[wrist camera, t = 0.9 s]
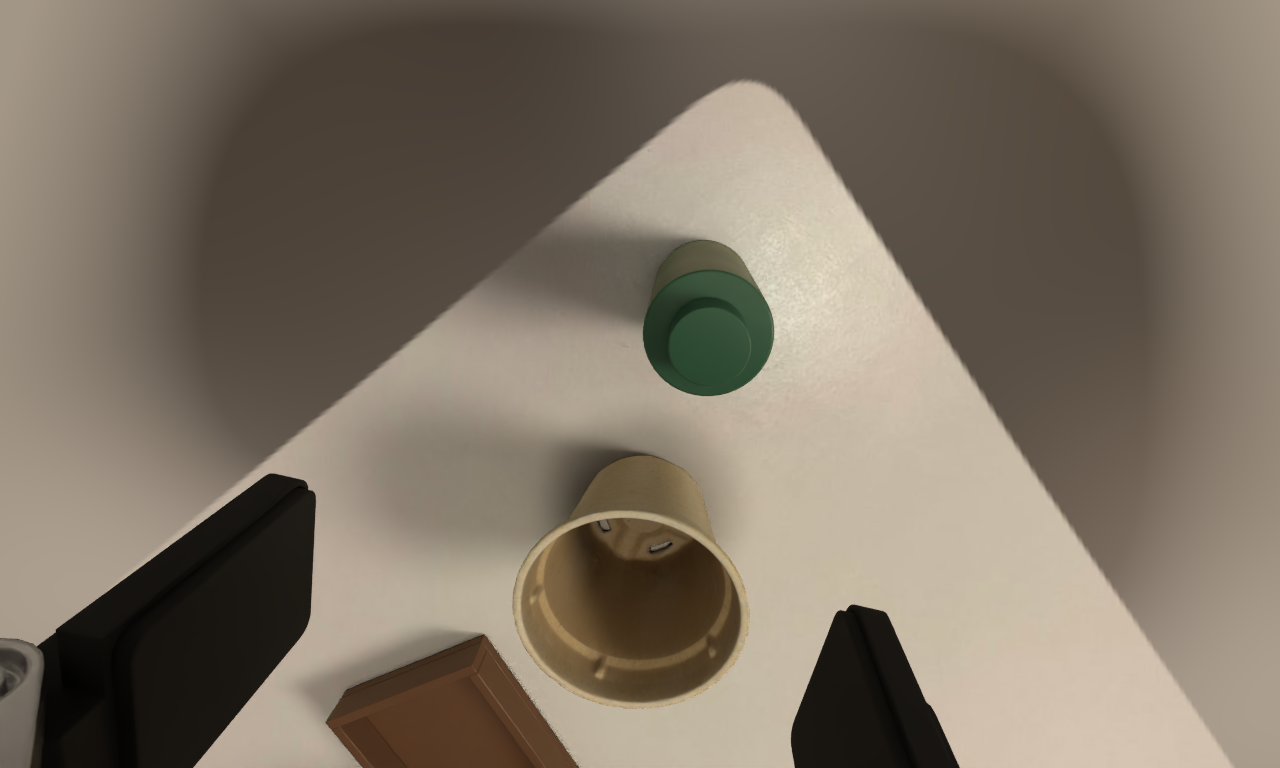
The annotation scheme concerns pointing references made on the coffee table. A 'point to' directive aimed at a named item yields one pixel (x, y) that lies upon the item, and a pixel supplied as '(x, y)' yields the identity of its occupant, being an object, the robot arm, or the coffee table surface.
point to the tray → (447, 716)
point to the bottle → (707, 321)
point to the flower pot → (633, 592)
